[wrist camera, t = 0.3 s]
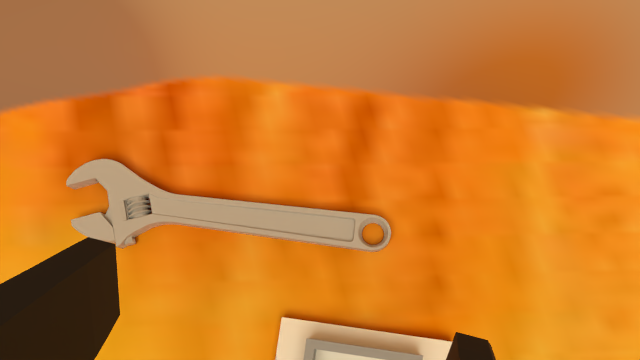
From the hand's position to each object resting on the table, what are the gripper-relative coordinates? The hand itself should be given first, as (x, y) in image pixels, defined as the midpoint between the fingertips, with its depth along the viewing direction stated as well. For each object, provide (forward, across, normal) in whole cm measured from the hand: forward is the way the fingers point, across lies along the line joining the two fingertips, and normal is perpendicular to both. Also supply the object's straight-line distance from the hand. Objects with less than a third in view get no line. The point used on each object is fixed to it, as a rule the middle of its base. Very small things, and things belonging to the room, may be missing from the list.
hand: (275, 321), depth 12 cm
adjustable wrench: (+26, +10, +18) cm, 33 cm away
